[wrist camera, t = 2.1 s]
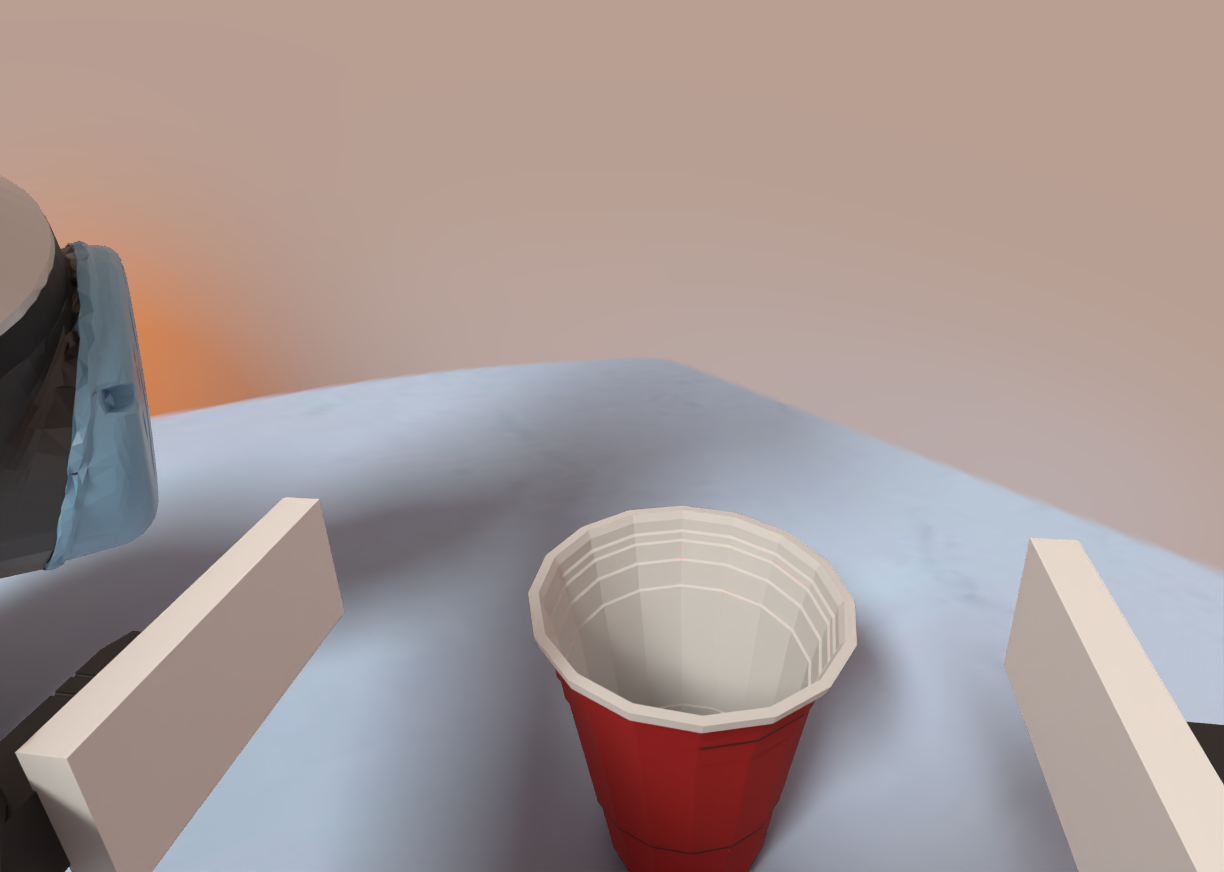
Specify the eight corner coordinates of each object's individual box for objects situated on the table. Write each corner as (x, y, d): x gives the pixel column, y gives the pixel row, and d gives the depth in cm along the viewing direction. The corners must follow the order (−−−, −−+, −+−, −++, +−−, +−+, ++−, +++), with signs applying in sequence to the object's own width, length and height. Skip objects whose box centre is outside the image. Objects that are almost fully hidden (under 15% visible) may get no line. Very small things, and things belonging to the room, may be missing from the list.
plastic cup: (706, 1051, 26) (710, 772, 21) (496, 838, 33) (460, 591, 28) (887, 834, 32) (926, 581, 27) (680, 696, 40) (679, 474, 34)
